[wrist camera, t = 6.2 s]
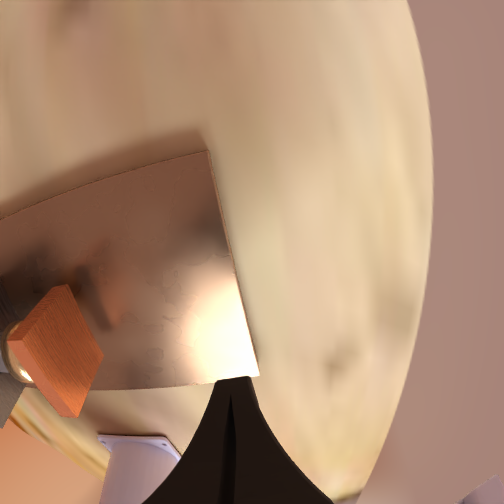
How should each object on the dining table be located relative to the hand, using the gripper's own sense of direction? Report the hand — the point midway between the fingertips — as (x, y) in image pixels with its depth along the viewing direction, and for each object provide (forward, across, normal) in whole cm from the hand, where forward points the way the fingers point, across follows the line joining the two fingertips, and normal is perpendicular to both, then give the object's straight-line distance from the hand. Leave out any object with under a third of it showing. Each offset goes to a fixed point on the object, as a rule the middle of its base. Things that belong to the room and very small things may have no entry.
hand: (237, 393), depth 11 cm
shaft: (+5, +18, -2) cm, 18 cm away
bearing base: (+7, +13, -2) cm, 15 cm away
